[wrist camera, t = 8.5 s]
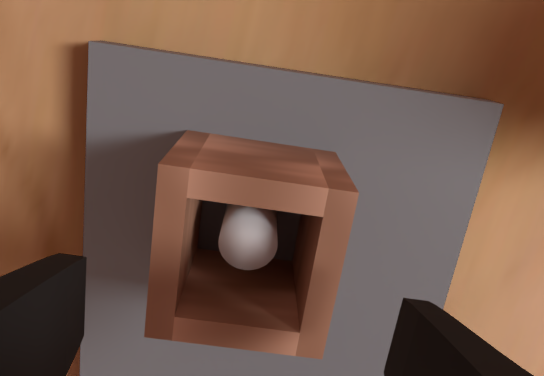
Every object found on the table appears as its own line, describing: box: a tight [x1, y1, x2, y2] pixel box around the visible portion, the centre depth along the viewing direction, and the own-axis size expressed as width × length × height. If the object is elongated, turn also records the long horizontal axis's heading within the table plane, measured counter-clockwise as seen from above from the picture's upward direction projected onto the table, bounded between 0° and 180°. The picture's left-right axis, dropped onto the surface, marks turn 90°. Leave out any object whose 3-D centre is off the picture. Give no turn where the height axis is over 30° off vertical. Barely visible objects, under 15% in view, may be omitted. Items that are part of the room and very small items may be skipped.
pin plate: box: [80, 41, 504, 376], centre depth 17 cm, size 14×17×4 cm
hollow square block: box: [144, 130, 359, 359], centre depth 15 cm, size 5×5×4 cm
